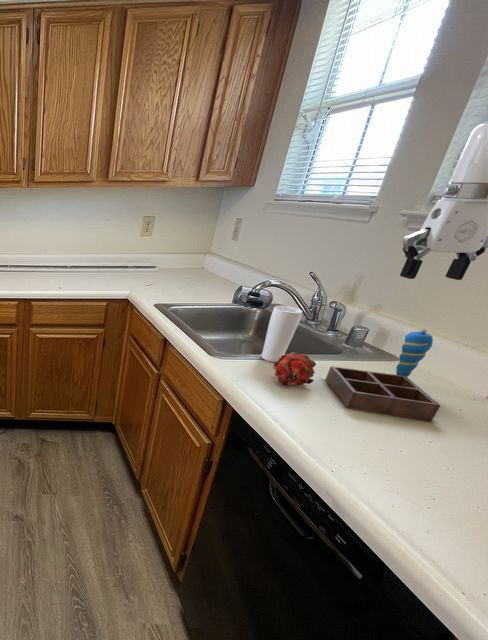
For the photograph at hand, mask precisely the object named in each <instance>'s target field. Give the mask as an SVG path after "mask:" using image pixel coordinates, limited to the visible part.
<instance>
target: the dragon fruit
mask: <svg viewBox="0 0 488 640" xmlns="http://www.w3.org/2000/svg"><path fill="white" fill-rule="evenodd" d="M315 366H317V363H316V362H315V360H313V359H311V358H310V356H309V355H307V354H306V353H299V352H296V351H292V352H291V353H289V355H288V354H285V355H283V356H281V357H279V360H278V361H277V362H274V364H273V366H272V369H273V370H275V371H274V376H275V377H277V380H278V383H279V384H280V385H281V386H288V385H289V386H292V387H295V386H303V385H304V384H306V385H309V384H312V383H313V382H314V381H315V380H314V379H313V377H314V376H315V375H314V374H315V373H316V372H315V370H314V368H315Z"/></svg>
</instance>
